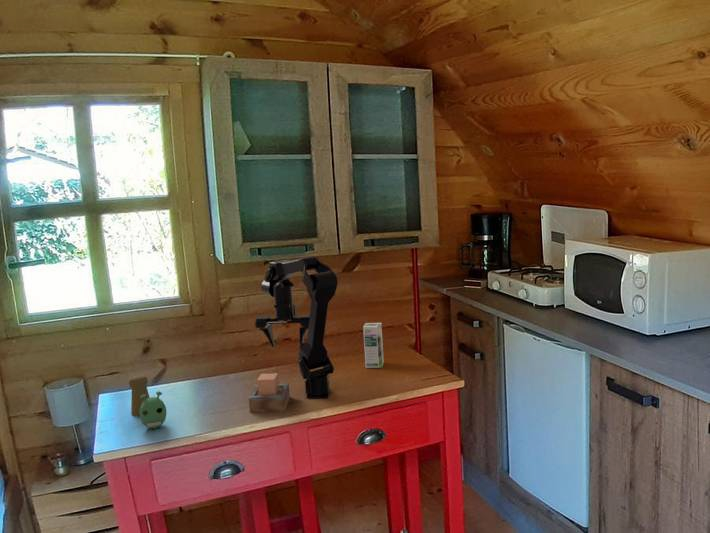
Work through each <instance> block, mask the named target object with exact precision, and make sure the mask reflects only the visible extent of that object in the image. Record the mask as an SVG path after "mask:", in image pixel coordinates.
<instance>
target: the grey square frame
mask: <svg viewBox="0 0 710 533" xmlns="http://www.w3.org/2000/svg"><path fill="white" fill-rule="evenodd" d="M290 398H291V393H290V384H289V383H279V391H278V393H277V394H276V395H262V396H259V395H258V384H255V385H254V387H253V389H252V391H251V393H250V395H249V396H248V406H249V413H264V412H265V413H269V412H270V413H271V412H272V413H273V412H285V411H286V408H287V406H288V403H289V402H290V401H289V400H290Z"/></svg>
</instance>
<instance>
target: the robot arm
mask: <svg viewBox="0 0 710 533" xmlns="http://www.w3.org/2000/svg"><path fill="white" fill-rule="evenodd" d="M309 271H315V273H312V274H309ZM296 273H302V277H301V278H302V279H301V281H302V283H303V284H304V286H305V287H306V292H307V294H308V296H309V298H310V299H311V301H310V308H309V309H310V310H309V313H303V314H302V315H301V316H297V315H298V314H297V313H298V309H297V308H298V306H297V305H296V304H294V300H293V291H292V287H294V283H293V282H292V281H291V280H290V278H292V277H293V276H296ZM338 282H339V280H338V277H337V275H336V274H335V272H334V271H333V270H332V268H331V267H329V266H328V265H326V264H324V263H323V262H322V261H320V259H318V258H317V257H316V256H312V255H311V256H306V257H305V256H304V257H301V258H300V259H296V260H292V259H284V260H277V261H272V262H269V264H268V267H267V269H266V273H265V276H264V280H263V281H262V282H261V285H260V290H261V292H262V293H263V294H264V295H266V296H269V297H272V298H273V299H274V305H273V307H274V312H275V317H272V316H271V314H264V315H263V314H262V315H259V316H258V317H257V318H256V319H255V320H254V327H255V329H259V331H262V332H263V334H264V335H265V336H266V338H267V340H268V341H269V342H270V345H271V347H272V348H275V346H276V345H275V337H274V331H273V325H274V324H275V325H278V324H300V326H299V346H298V347H299V350H298V354H297V355H298V360H297V362H298V367H299V368H298V369H299V372H300V374H301V377H302V379H304V386H305V394H306V399H323V398H324V399H327V398H329V396H330V393H331V391H332V389H331V388H330V378H329V377H330V376H329V375H331V374H334V370H335V367H334V365H333V363H332V362H331V359H330V357H329V356H328V350H327V348H326V346H325V345H324V341H325V332H326V325H327V317H328V308H329V303H330V301H331V300H332V299H333V297H335V294H336V291H337V289H338V288H337V287H338V284H339V283H338ZM306 331H307V338H306V341H305V342H304V340H305V336H306Z"/></svg>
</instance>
